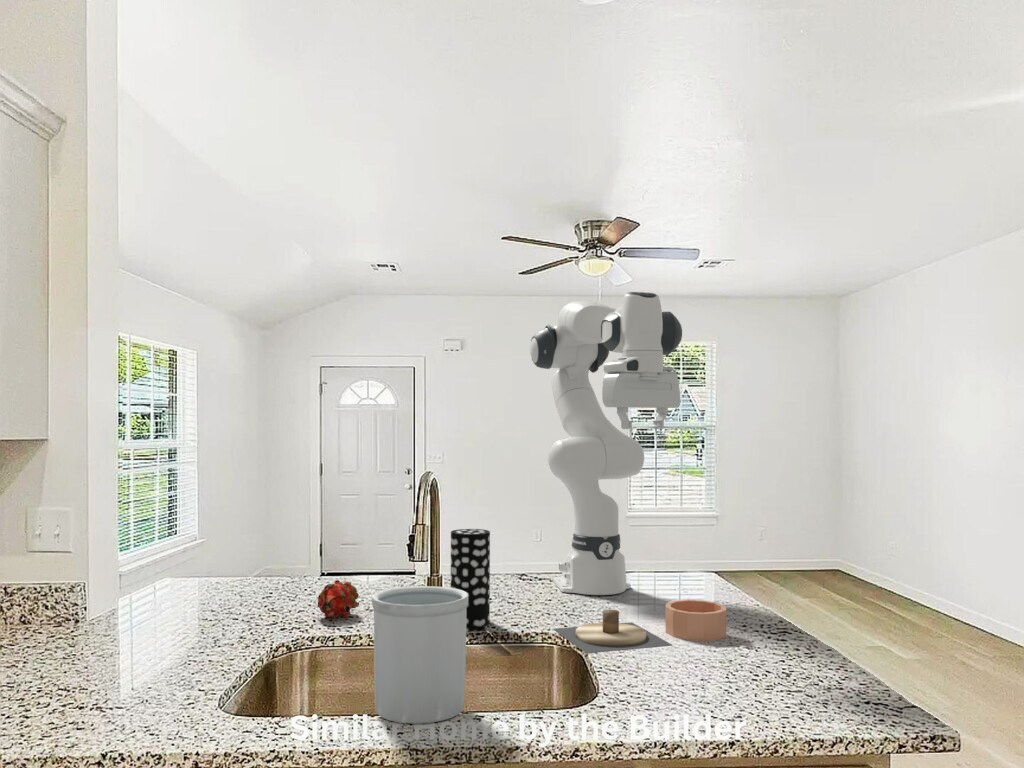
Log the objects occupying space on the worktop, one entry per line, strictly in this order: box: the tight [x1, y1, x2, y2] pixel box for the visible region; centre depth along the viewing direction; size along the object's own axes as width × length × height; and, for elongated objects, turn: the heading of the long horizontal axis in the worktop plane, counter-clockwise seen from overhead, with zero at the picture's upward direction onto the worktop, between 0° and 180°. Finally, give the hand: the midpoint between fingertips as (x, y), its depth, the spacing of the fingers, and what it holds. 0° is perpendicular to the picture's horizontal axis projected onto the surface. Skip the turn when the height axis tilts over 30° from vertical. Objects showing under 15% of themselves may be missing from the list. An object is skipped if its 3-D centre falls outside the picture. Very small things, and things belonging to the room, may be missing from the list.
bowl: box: [665, 599, 727, 642], centre depth 173 cm, size 12×12×6 cm
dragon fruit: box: [317, 579, 360, 620], centre depth 188 cm, size 8×8×12 cm
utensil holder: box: [371, 585, 468, 724], centre depth 132 cm, size 15×15×18 cm
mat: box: [552, 621, 673, 654], centre depth 170 cm, size 18×18×1 cm
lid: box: [576, 609, 646, 647], centre depth 170 cm, size 14×14×5 cm
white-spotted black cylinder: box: [450, 528, 491, 632], centre depth 181 cm, size 8×8×20 cm
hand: (642, 428), depth 184 cm, fingers open, 8 cm apart
